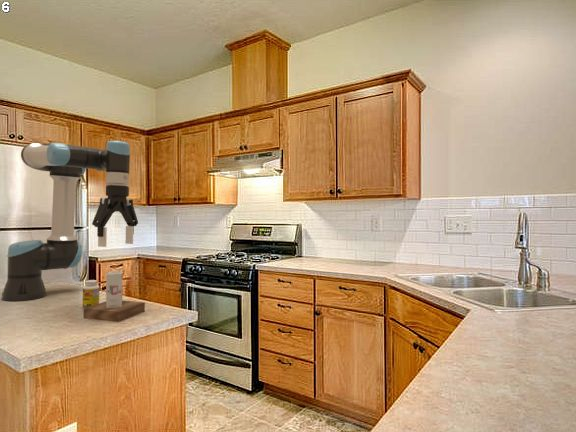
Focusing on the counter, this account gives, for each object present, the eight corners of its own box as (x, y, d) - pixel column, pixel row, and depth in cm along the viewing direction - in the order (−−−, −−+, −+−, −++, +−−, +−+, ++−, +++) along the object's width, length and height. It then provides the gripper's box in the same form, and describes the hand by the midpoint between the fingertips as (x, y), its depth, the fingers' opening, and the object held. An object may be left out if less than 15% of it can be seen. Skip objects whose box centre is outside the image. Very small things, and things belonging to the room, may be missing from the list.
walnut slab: (83, 320, 128) (83, 308, 127) (112, 310, 141) (112, 299, 141) (118, 323, 124) (118, 311, 124) (144, 313, 138) (144, 302, 138)
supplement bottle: (79, 308, 140) (79, 281, 140) (93, 305, 145) (93, 279, 145) (88, 310, 137) (88, 282, 137) (102, 307, 142) (102, 280, 142)
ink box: (107, 303, 135) (107, 270, 135) (122, 302, 137) (123, 269, 137) (105, 308, 127) (106, 274, 127) (121, 307, 129) (122, 273, 129)
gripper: (100, 182, 120) (98, 248, 120) (148, 187, 144) (147, 243, 144) (80, 182, 122) (79, 247, 122) (131, 187, 146) (130, 242, 146)
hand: (116, 245), depth 133 cm, fingers open, 13 cm apart
